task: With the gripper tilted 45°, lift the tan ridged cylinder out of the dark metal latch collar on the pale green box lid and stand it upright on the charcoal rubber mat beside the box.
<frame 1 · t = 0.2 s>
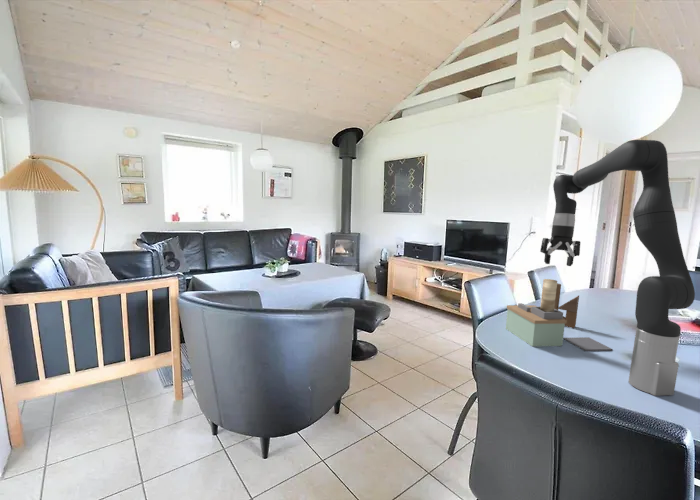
hand: (558, 264, 138), 29 cm above the table, tool pointing down, fingers open, 8 cm apart
pale green box: (532, 336, 136), on the table
tan ridged cylinder: (546, 315, 131), point 10 cm above the table, touching pale green box
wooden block: (560, 324, 152), on the table
charcoal mat: (586, 344, 130), on the table
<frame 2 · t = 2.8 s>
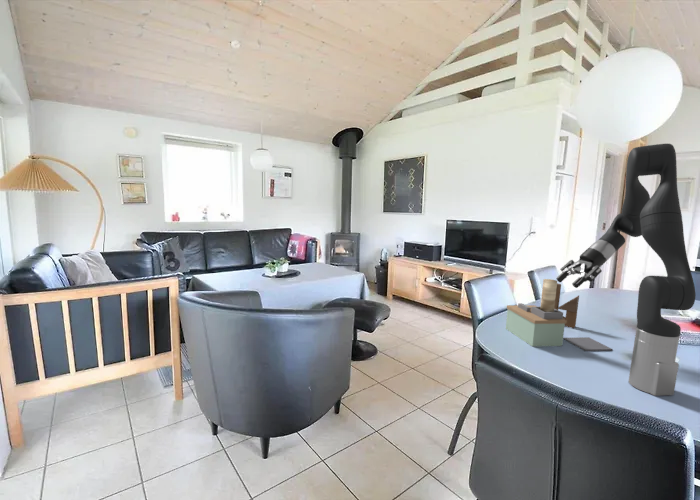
hand: (565, 283, 130), 23 cm above the table, tool tilted 45°, fingers open, 8 cm apart
nothing on the table moved.
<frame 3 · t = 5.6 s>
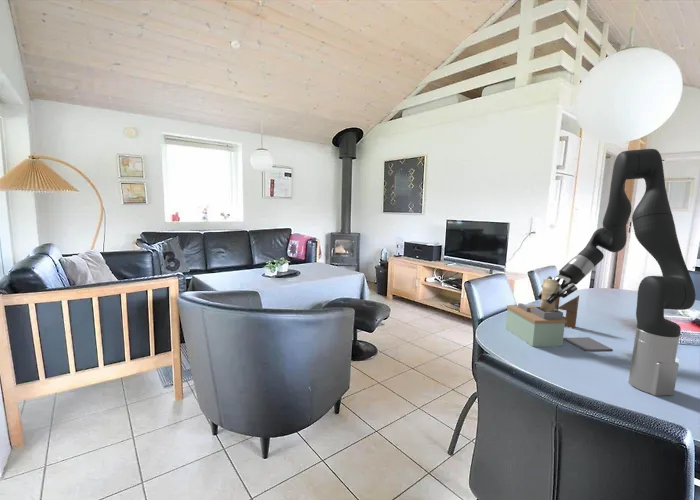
hand: (543, 299, 130), 17 cm above the table, tool tilted 45°, fingers closed on tan ridged cylinder, 4 cm apart
tan ridged cylinder: (546, 315, 131), point 10 cm above the table, touching gripper, pale green box
everything else where it was.
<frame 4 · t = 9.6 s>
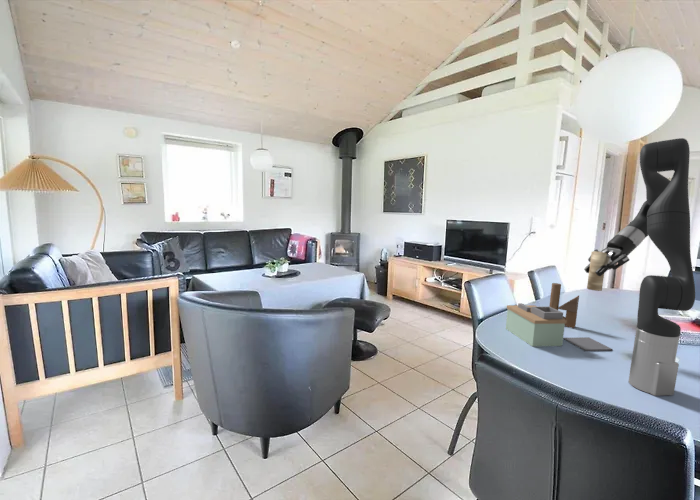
hand: (591, 272, 126), 28 cm above the table, tool tilted 45°, fingers closed on tan ridged cylinder, 4 cm apart
tan ridged cylinder: (594, 289, 127), point 22 cm above the table, touching gripper
everything else where it was.
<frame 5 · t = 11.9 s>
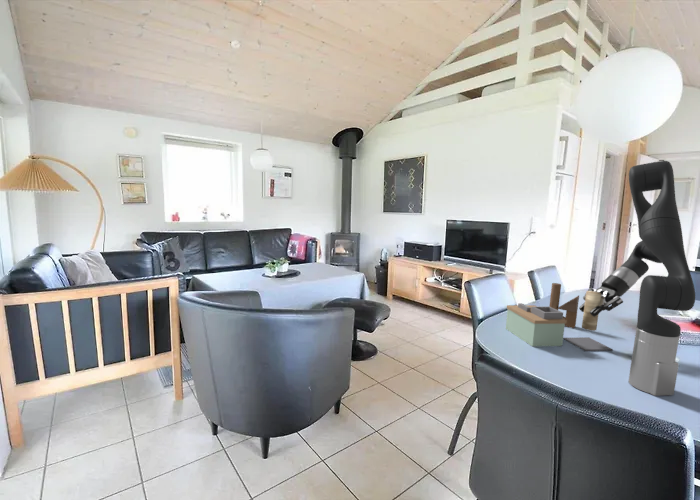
hand: (586, 312, 128), 13 cm above the table, tool tilted 45°, fingers closed on tan ridged cylinder, 4 cm apart
tan ridged cylinder: (589, 328, 129), point 7 cm above the table, touching gripper
everything else where it was.
when the fingers open (9 cm above the table, at t = 13.8 s): tan ridged cylinder drops 2 cm, resting on charcoal mat.
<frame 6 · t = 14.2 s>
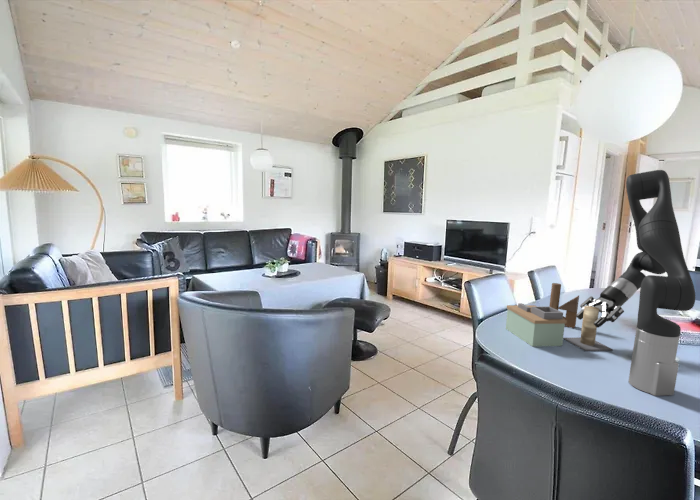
hand: (586, 321, 129), 9 cm above the table, tool tilted 45°, fingers open, 8 cm apart
tan ridged cylinder: (587, 343, 130), point 1 cm above the table, touching charcoal mat
everything else where it was.
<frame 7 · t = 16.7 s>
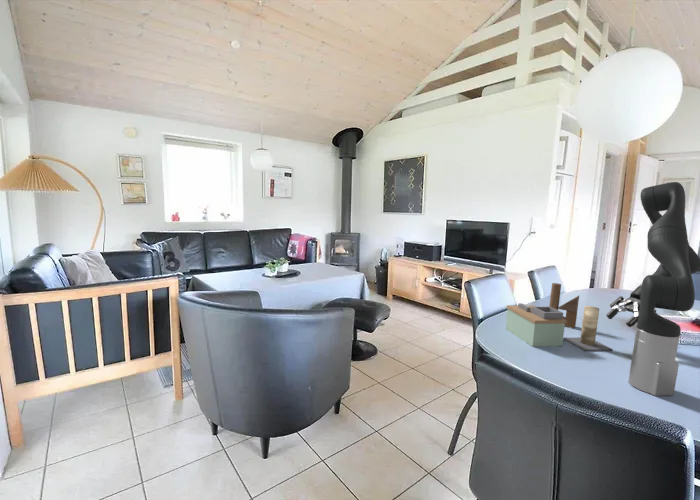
hand: (617, 321, 130), 9 cm above the table, tool tilted 45°, fingers open, 8 cm apart
nothing on the table moved.
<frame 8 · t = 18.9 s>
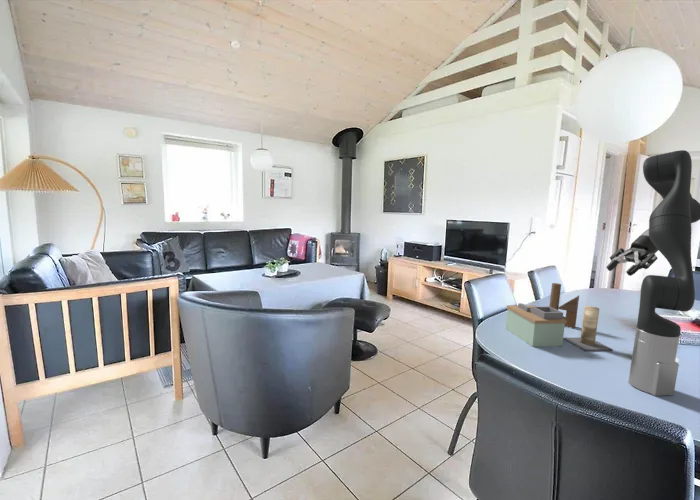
hand: (617, 271, 127), 29 cm above the table, tool tilted 45°, fingers open, 8 cm apart
nothing on the table moved.
at the end: tan ridged cylinder inside the target area on the charcoal mat (0.1 cm from its centre), point 0.6 cm above the charcoal mat's base; tan ridged cylinder tilted 0°; the gripper is holding nothing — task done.
